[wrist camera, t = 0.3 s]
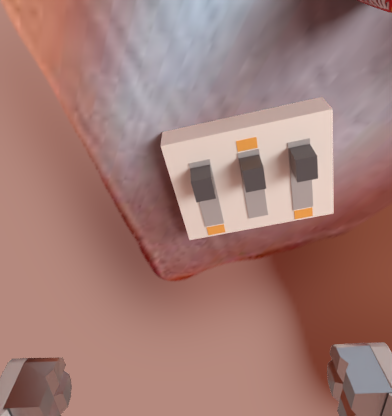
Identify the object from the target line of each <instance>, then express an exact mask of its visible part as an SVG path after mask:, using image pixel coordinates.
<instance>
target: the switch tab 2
mask: <svg viewBox="0 0 392 416" xmlns="http://www.w3.org/2000/svg"><path fill="white" fill-rule="evenodd" d="M239 160H240V166H241V172H242V177H243V182H244V186H245V191H246V193H247V192H252V191H257V190H262V189H266V183H265V176H264V168H263V164H262V162H261V159H260V156H259V155H254V156H249V157H244V158H239Z"/></svg>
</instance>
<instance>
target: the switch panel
mask: <svg viewBox="0 0 392 416" xmlns="http://www.w3.org/2000/svg"><path fill="white" fill-rule="evenodd" d="M307 144H310V145H311V146H312V148H313V150H314V151H315V153H316V155H317V163H318V179H313V180H308V181H303V182H298V183H297V181H296V179H295V177H294V175H293V172H292V170H291V161H290V149H289V148H293V147H297V146H302V145H307ZM161 149H162V153H163V156H164V159H165V162H166V165H167V169H168V172H169V175H170V178H171V182H172V185H173V188H174V191H175V195H176V198H177V201H178V204H179V208H180V211H181V214H182V217H183V220H184V224H185V227H186V230H187V233H188V237H189V240H193V239H198V238H204V237H209V236H215V235H220V234H225V233H231V232H236V231H242V230H247V229H252V228H258V227H263V226H268V225H274V224H279V223H285V222H290V221H295V220H301V219H306V218H312V217H317V216H322V215H328V214H333V213H334V207H333V109H332V108H331V107H330V105H329V104H328V103H327V102H326V101H325V100H324V99H323V97H319V98H314V99H310V100H305V101H301V102H296V103H292V104H287V105H282V106H278V107H273V108H269V109H264V110H260V111H255V112H251V113H246V114H242V115H237V116H233V117H228V118H224V119H219V120H214V121H210V122H205V123H201V124H196V125H192V126H187V127H183V128H178V129H174V130H169V131H165V132H162V138H161ZM254 155H259V156H260V159H261V162H262V164H263V168H264V176H265V183H266V189H262V190H257V191H252V192H247V193H246V191H245V186H244V182H243V177H242V172H241V166H240V160H239V158H244V157H249V156H254ZM206 165H210V168H211V172H212V177H213V181H214V185H215V194H216V199H211V200H206V201H201V202H196V199H195V196H194V192H193V188H192V185H191V174H190V169H191V168H196V167H201V166H206Z"/></svg>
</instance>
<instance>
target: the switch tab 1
mask: <svg viewBox="0 0 392 416" xmlns="http://www.w3.org/2000/svg"><path fill="white" fill-rule="evenodd" d="M190 174H191V185H192V188H193V192H194V196H195V199H196V202H201V201H206V200H211V199H216V194H215V185H214V181H213V177H212V172H211V168H210V165H206V166H201V167H196V168H191V169H190Z"/></svg>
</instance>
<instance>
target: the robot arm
mask: <svg viewBox="0 0 392 416" xmlns="http://www.w3.org/2000/svg"><path fill="white" fill-rule="evenodd" d="M330 355H331V357H332V360H331V361H330V362H329V363H328V367H327V376H328V383H329V387H330V391H331V393H332V396H333V397H334V398H335V399H336V400H337V401H339V406H338V414H339V416H392V353H391V351H390V349H389V347H388V345H386V344H385V343H355V344H338V345H332V347H331V350H330ZM65 366H66V364H65V362H64V359H63V358H20V359H12V360H10V361H9V362H8V363H7V365H6V367H5V369H4V371H3V373H2V375H1V377H0V416H61V415H60V414H61V413H62V412H63V411H64V410H65V409H66V408H67V407H68V405H69V401H70V397H71V389H72V385H71V379H70V376H69V374H68V373H66V372H65V371H64V369H65Z"/></svg>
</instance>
